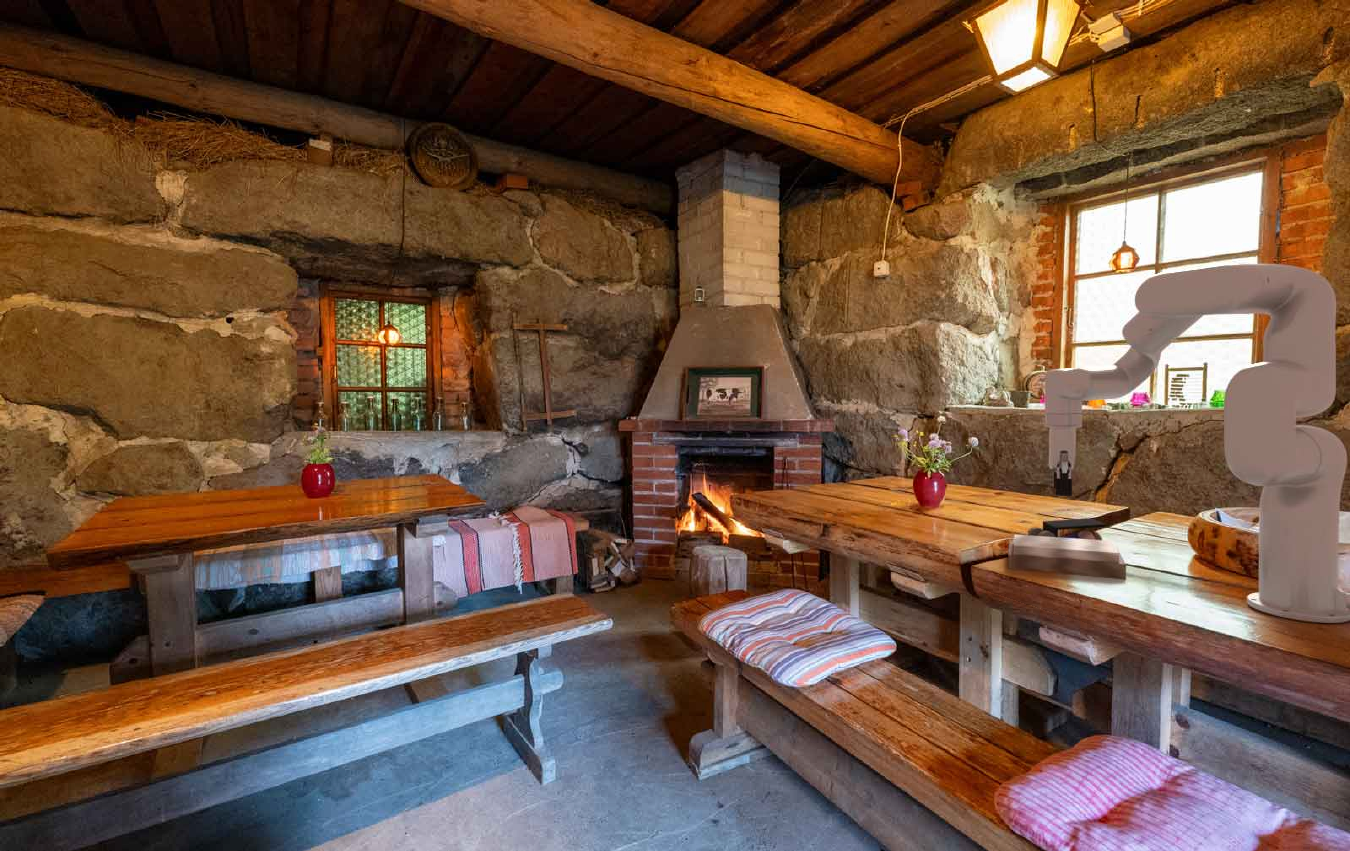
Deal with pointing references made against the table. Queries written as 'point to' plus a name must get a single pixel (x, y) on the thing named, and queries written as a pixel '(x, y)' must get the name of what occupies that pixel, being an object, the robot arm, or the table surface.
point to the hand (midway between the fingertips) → (1062, 491)
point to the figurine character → (1053, 526)
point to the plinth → (1067, 565)
